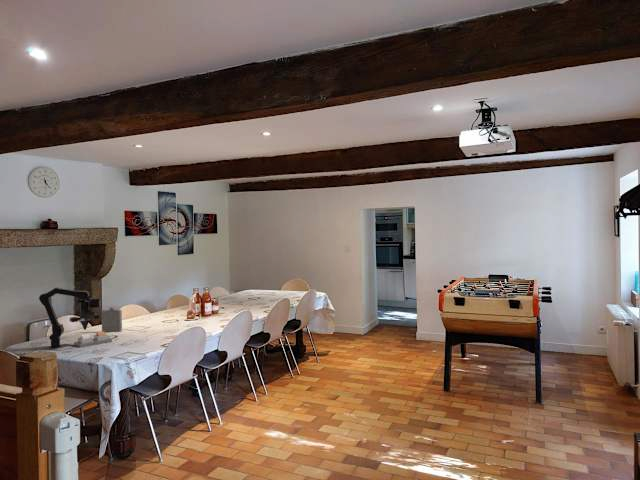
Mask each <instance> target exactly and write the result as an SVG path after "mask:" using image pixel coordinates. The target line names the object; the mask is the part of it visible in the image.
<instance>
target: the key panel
mask: <svg viewBox="0 0 640 480" xmlns="http://www.w3.org/2000/svg"><path fill="white" fill-rule="evenodd" d="M112 342H113V339H112V338H110V337H109V334H107V333H106V335H104V336H96V334H94V335H93V337H92V336H90V338H87V339H81V338H80V337H78V338H77V341H74V342H73V344H74V346H75V347H78V348H85V347H92V346H96V345H102V344H103V345H104V344H107V343H112Z"/></svg>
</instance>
